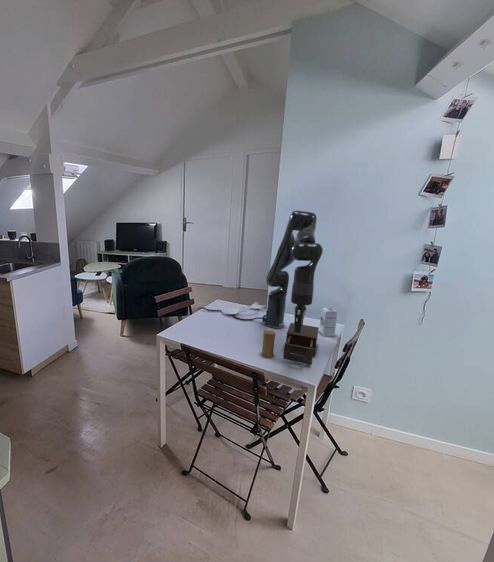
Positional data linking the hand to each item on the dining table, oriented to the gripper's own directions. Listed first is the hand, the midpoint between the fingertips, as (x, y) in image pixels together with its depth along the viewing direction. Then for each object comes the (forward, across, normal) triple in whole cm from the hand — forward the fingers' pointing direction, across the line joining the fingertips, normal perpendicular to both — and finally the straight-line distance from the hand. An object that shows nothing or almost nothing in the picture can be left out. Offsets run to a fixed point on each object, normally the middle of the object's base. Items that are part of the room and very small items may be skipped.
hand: (298, 328), depth 131 cm
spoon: (+20, -67, -38) cm, 79 cm away
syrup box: (+20, -52, +10) cm, 57 cm away
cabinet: (+20, -28, 0) cm, 35 cm away
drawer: (+20, -14, 0) cm, 24 cm away
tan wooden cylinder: (+21, -12, -13) cm, 27 cm away
